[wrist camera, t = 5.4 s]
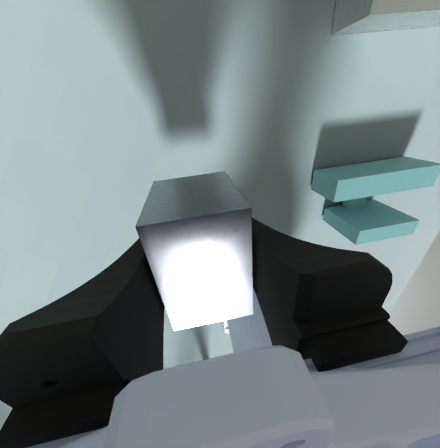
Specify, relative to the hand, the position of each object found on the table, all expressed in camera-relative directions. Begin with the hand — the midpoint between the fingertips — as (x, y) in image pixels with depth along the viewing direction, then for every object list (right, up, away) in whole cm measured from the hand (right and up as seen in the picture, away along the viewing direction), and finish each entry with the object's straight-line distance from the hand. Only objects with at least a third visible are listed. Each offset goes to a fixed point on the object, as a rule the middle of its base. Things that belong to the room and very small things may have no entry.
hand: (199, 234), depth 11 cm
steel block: (0, +1, +1) cm, 1 cm away
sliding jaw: (+16, +4, +10) cm, 19 cm away
